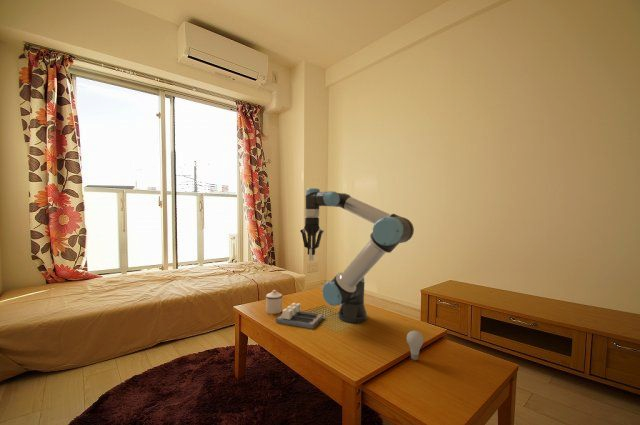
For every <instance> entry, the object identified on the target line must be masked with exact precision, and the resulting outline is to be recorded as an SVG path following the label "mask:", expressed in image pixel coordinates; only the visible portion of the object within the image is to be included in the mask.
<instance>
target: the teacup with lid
mask: <svg viewBox="0 0 640 425" xmlns="http://www.w3.org/2000/svg"><path fill="white" fill-rule="evenodd" d="M282 301H283V294H282V293H280V292H278V291H277V290H276V289H273V290H272V291H271V292H270V293H269V292H268V293H267V294H266V296H265V313H267V314H270V315H277V314H280V313H281V312H282V310H283V306H282V304H283V302H282Z"/></svg>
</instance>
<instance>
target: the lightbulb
mask: <svg viewBox="0 0 640 425" xmlns="http://www.w3.org/2000/svg"><path fill="white" fill-rule="evenodd" d="M424 341H425V340H424V337H423V334H422V333H421V332H419V331H418V330H410V331H409V332H408V333H407V335H406V342H407V344H408V346H409V349H410V359H412V360H413V361H417V360H418V359H419V355H420V350H421V348H422V346H423V344H424Z"/></svg>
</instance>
